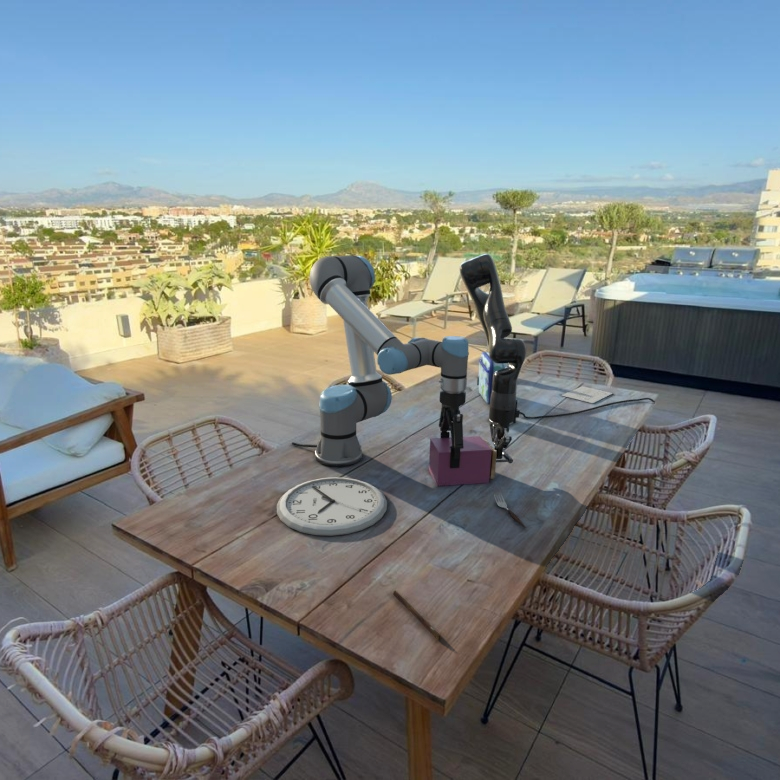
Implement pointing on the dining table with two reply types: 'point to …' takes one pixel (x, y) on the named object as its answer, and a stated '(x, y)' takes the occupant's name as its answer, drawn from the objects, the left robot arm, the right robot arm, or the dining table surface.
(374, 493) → the wall clock
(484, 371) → the lunch box
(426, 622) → the brown thin rod
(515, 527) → the dining table surface
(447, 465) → the magenta rectangular box
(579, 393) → the invitation card
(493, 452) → the drawer
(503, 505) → the fork
